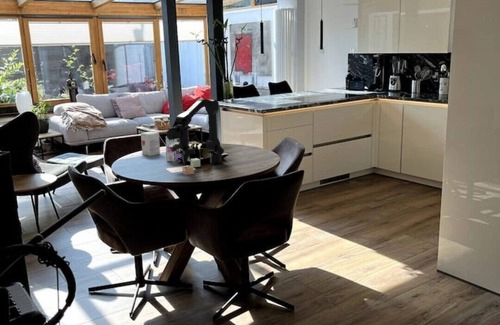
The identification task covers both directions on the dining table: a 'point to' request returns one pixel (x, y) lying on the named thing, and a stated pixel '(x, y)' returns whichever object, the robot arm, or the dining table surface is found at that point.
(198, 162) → the green cube
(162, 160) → the dining table surface
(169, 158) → the candy box
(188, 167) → the terracotta block
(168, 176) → the dining table surface
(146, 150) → the supplement box
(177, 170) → the letter
